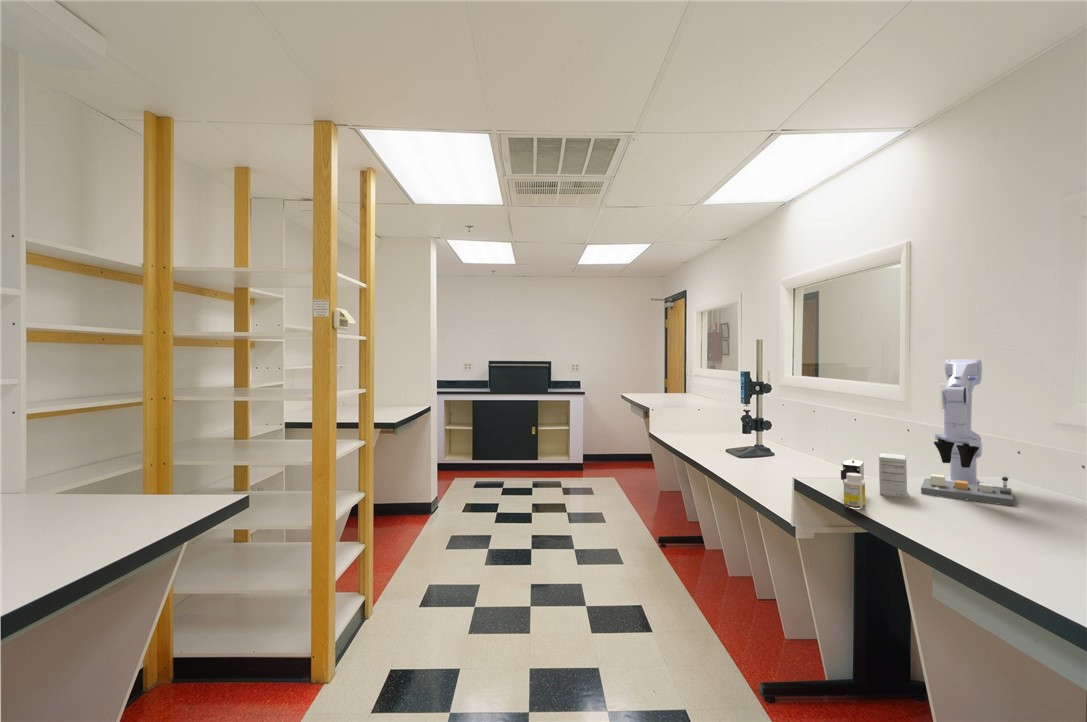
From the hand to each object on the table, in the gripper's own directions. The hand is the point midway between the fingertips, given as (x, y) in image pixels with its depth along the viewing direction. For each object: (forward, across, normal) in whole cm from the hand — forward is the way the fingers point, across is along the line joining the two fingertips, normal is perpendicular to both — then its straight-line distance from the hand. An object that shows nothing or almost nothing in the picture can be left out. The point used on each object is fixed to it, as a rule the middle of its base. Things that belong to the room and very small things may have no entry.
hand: (955, 465), depth 160 cm
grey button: (+8, +3, +7) cm, 11 cm away
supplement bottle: (+12, +10, -39) cm, 42 cm away
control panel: (+10, 0, +4) cm, 10 cm away
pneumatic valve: (+11, -2, -32) cm, 34 cm away
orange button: (+8, -1, +2) cm, 8 cm away
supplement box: (+10, -3, -18) cm, 21 cm away
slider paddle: (+8, -4, -3) cm, 9 cm away
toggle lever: (+6, +6, +10) cm, 13 cm away
